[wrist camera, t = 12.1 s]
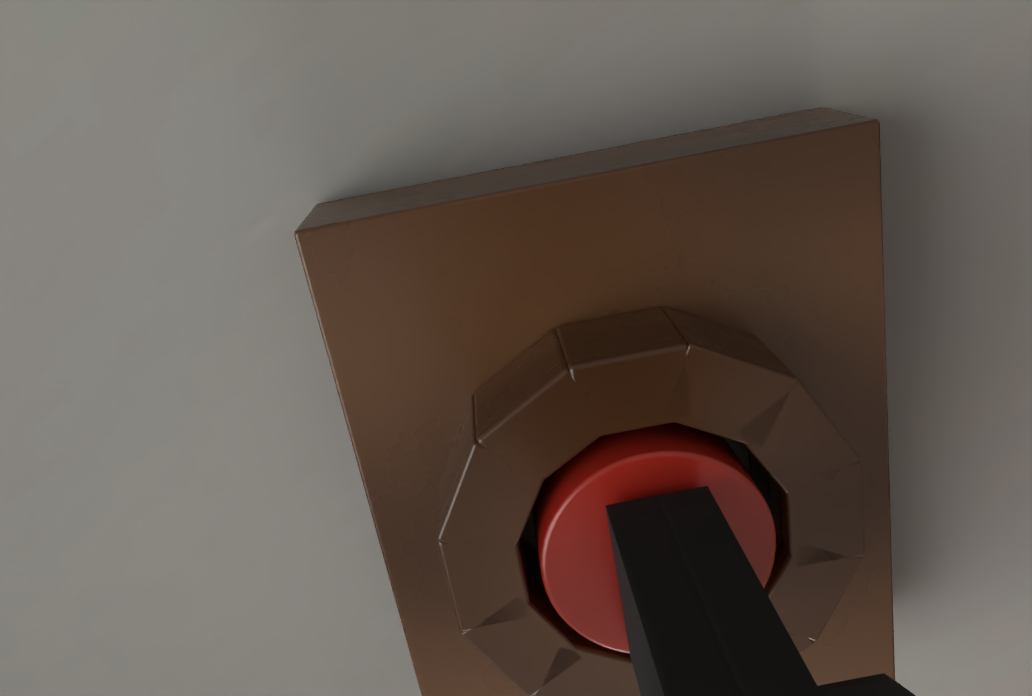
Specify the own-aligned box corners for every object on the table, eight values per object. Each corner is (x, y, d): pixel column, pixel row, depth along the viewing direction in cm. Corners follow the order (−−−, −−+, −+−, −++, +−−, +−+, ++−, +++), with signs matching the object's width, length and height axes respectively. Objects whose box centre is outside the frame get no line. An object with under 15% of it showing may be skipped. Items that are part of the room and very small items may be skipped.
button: (514, 425, 14) (521, 478, 12) (732, 383, 14) (769, 431, 12) (549, 606, 15) (561, 676, 14) (750, 568, 15) (786, 633, 14)
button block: (314, 204, 15) (267, 262, 11) (823, 106, 15) (945, 132, 11) (444, 695, 19) (442, 859, 15) (848, 617, 19) (945, 763, 15)
